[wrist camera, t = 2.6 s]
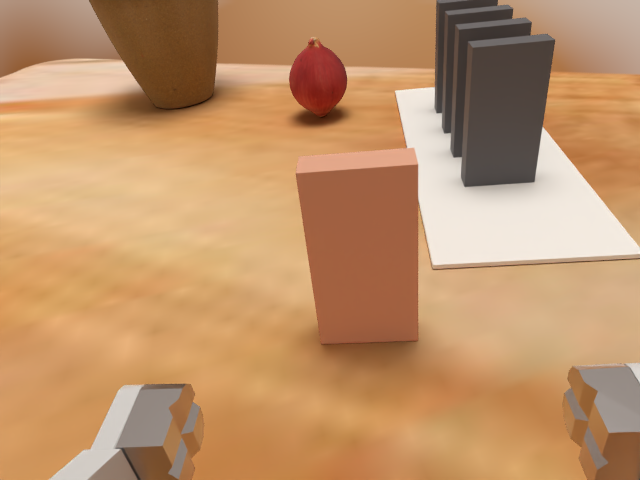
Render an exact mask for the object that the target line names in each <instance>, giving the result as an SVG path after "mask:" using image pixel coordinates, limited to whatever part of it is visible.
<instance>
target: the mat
mask: <svg viewBox="0 0 640 480" xmlns="http://www.w3.org/2000/svg"><path fill="white" fill-rule="evenodd" d="M395 95H396V100H397V104H398V109H399V114H400V118H401V123H402V128H403V132H404V137H405V142H406V146H407V148H414V149H415V153H416V157H417V161H418V202H419V207H420V212H421V216H422V221H423V226H424V230H425V235H426V240H427V244H428V249H429V254H430V258H431V263H432V268H433V269H443V268H462V267H481V266H500V265H519V264H538V263H557V262H576V261H595V260H614V259H633V258H640V248H639V246H638V245H637V244H636V243H635V241H634V240H633V239H632V238H631V236H630V235H629V234H628V233H627V231H626V230H625V229H624V228H623V226H622V225H621V224H620V223H619V221H618V220H617V219H616V218H615V216H614V215H613V214H612V213H611V211H610V210H609V209H608V208H607V206H606V205H605V204H604V203H603V201H602V200H601V199H600V198H599V196H598V195H597V194H596V193H595V191H594V190H593V189H592V188H591V186H590V185H589V184H588V183H587V181H586V180H585V179H584V178H583V176H582V175H581V174H580V173H579V171H578V170H577V169H576V168H575V166H574V165H573V164H572V163H571V161H570V160H569V159H568V158H567V156H566V155H565V154H564V153H563V151H562V150H561V149H560V148H559V146H558V145H557V144H556V143H555V141H554V140H553V139H552V138H551V136H550V135H549V134H548V133H547V131H546V130H545V129H544V128H543V127H542V134H541V141H540V147H539V154H538V161H537V168H536V175H535V182H532V183H517V184H502V185H488V186H473V187H464V184H463V182H462V179H461V163H462V157H457V158H453V155H452V153H451V150H450V145H451V133H446V134H444V132H443V129H442V113H436V110H435V108H434V105H435V87H431V88H420V89H408V90H397V91H395Z"/></svg>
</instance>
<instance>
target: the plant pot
mask: <svg viewBox="0 0 640 480" xmlns="http://www.w3.org/2000/svg"><path fill="white" fill-rule="evenodd" d="M89 1H90V3H91V5H92V7H93V9H94V11H95V13H96V15H97V17H98V19H99V20H100V22H101V24H102V26H103V28H104V30H105V31H106V33H107V35H108V37H109V38H110V40H111V42H112V43H113V45H114V47H115V49H116V50H117V52H118V53H119V55H120V57H121V58H122V60H123V61H124V63H125V64H126V66H127V67H128V69H129V71H130V72H131V73H132V75H133V76H134V78H135V79H136V81H137V82H138V84H139V85H140V86H141V88H142V89H143V90H144V92H145V93H146V94H147V96H148V97H149V99H150V100H151V101H152V102H153V104H154V105H155V106H156V107H159V108H164V109H172V108H181V107H187V106H191V105H194V104H197V103H200V102H202V101H205V100H206V99H208V98H210V97H211V96H212V95H213V90H214V83H215V74H216V63H217V49H218V48H217V47H218V0H89Z"/></svg>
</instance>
